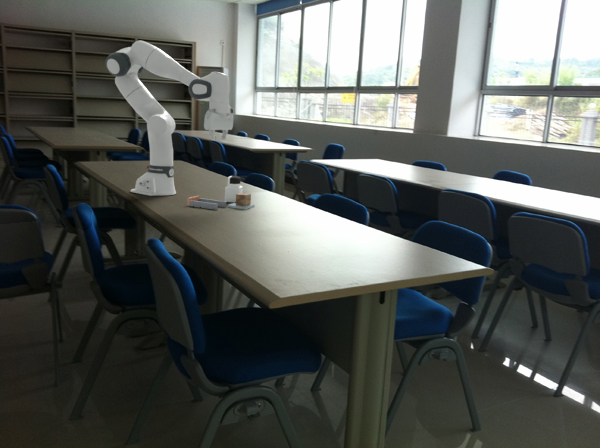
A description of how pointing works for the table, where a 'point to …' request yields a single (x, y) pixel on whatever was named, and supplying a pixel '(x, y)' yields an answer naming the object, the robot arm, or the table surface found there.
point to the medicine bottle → (233, 188)
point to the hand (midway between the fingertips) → (218, 140)
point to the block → (243, 199)
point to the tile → (240, 206)
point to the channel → (205, 203)
